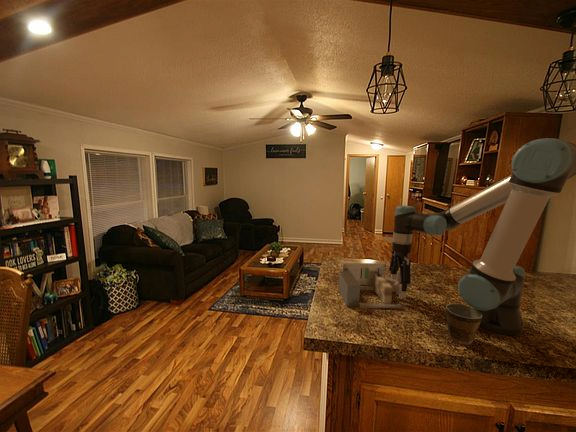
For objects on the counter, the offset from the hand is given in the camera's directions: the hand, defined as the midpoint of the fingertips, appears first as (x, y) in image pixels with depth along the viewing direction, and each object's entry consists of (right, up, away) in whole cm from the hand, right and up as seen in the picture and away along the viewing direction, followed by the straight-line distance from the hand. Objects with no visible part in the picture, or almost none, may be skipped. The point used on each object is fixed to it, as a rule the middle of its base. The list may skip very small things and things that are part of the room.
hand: (397, 292), depth 119 cm
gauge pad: (-7, -1, +2) cm, 7 cm away
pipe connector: (0, -1, 0) cm, 1 cm away
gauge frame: (-13, -2, +1) cm, 13 cm away
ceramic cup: (+9, -7, -27) cm, 29 cm away
